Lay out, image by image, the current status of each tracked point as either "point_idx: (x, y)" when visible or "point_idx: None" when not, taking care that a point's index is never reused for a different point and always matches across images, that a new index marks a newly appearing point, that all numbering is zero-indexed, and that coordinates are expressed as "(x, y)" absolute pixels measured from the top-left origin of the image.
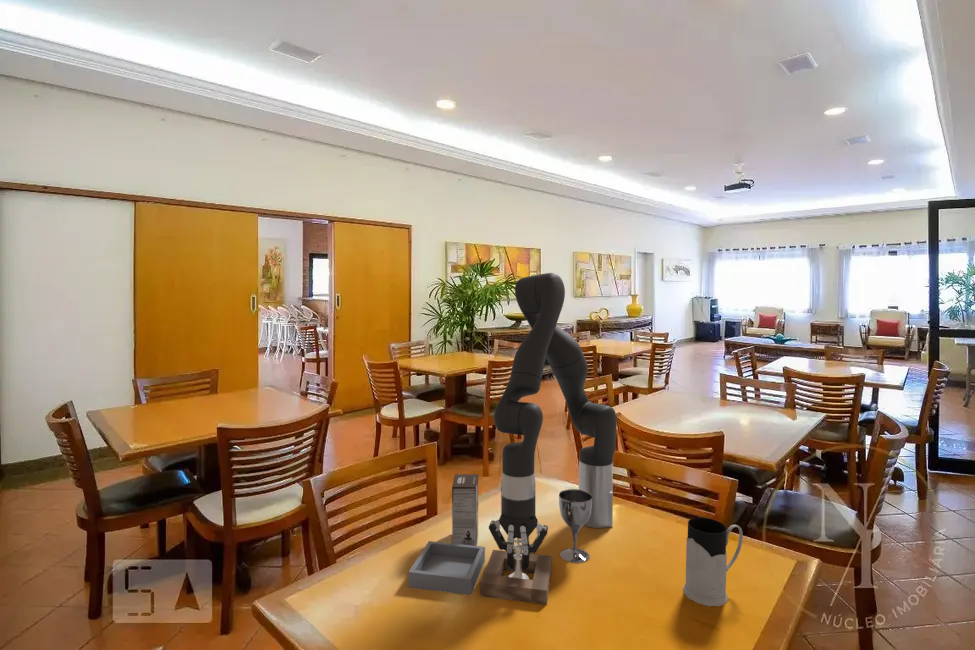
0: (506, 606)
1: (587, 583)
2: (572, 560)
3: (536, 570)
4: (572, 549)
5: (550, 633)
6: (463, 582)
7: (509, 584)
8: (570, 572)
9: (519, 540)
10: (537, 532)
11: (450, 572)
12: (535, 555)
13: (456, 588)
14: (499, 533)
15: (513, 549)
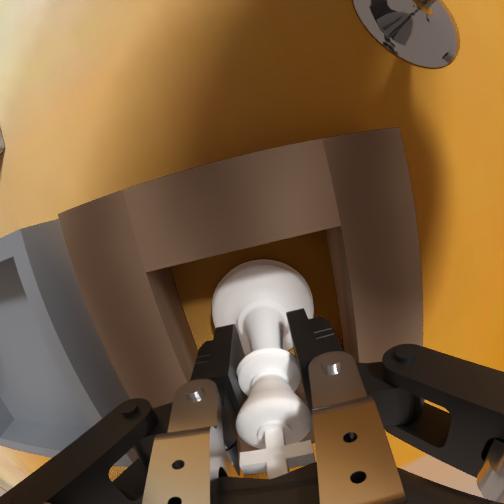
0: None
1: (496, 200)
2: (424, 57)
3: (362, 313)
4: None
5: (408, 451)
6: None
7: None
8: (442, 143)
9: (288, 463)
10: (488, 485)
11: (31, 365)
12: (310, 157)
13: None
14: (103, 501)
15: (227, 397)
